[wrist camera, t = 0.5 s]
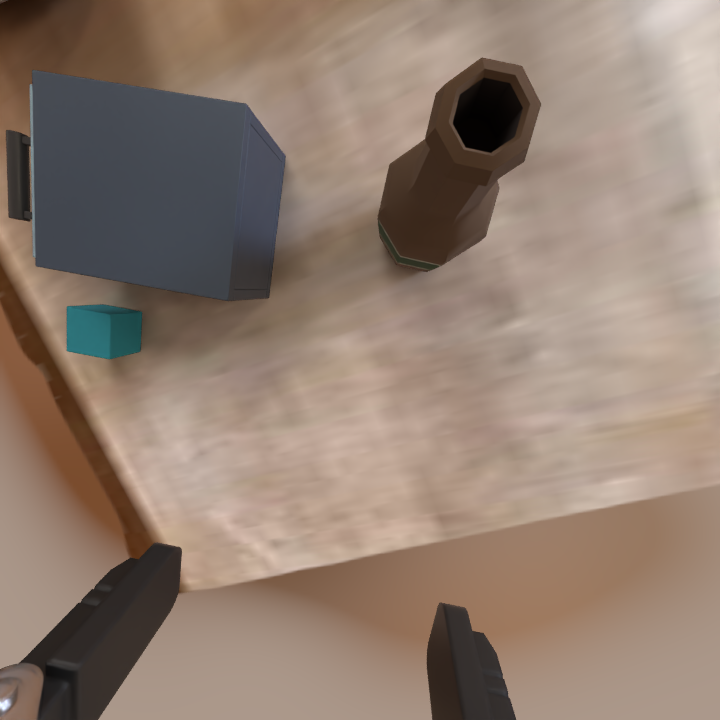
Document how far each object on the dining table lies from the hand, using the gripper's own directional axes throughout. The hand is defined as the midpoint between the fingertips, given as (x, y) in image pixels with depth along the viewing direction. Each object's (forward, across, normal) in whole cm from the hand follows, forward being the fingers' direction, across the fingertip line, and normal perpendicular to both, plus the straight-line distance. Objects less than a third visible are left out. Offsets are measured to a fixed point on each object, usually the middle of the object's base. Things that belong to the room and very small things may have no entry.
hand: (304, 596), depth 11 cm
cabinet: (+28, +19, -13) cm, 36 cm away
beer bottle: (+28, -3, -15) cm, 32 cm away
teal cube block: (+28, +27, 0) cm, 39 cm away
